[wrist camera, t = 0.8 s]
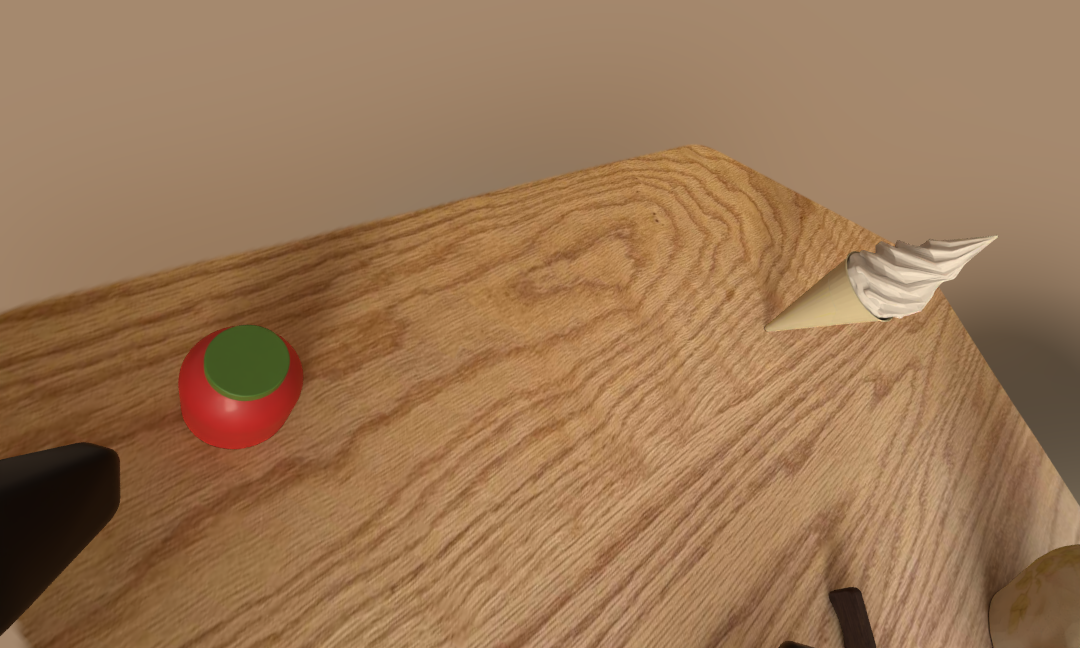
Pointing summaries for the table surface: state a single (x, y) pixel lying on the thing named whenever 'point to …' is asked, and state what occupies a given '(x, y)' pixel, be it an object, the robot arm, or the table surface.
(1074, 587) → the sugar bowl
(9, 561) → the robot arm
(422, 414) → the table surface
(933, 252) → the ice cream cone
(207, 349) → the sriracha sauce bottle
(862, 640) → the kitchen knife
